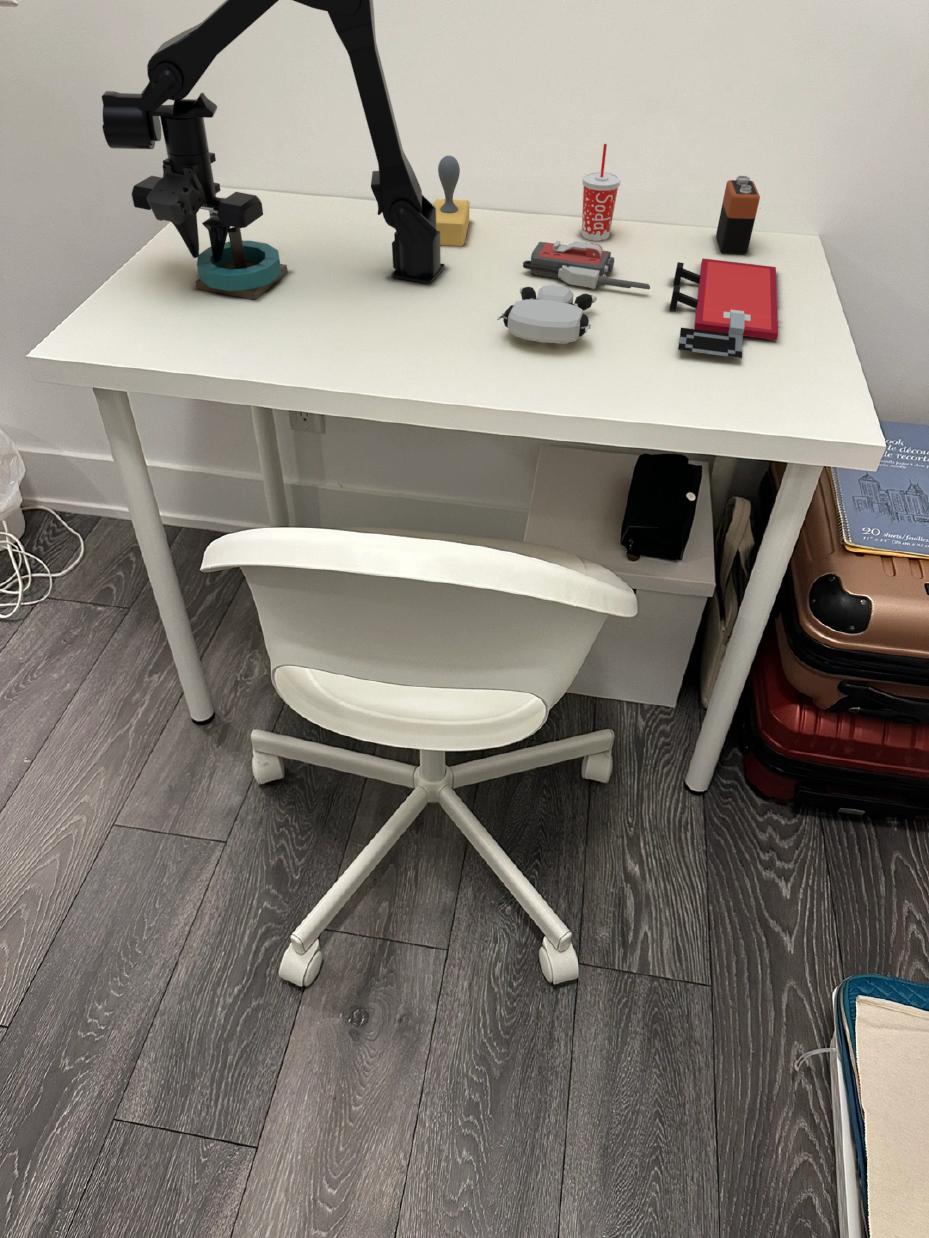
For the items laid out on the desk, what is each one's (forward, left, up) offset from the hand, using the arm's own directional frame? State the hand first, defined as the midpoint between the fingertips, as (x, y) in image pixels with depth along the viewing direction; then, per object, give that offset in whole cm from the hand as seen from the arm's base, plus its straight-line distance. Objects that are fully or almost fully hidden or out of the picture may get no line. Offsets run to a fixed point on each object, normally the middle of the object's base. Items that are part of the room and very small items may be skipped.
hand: (207, 259), depth 136 cm
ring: (-6, 0, -1) cm, 6 cm away
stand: (-6, 0, -2) cm, 6 cm away
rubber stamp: (-29, -28, -3) cm, 40 cm away
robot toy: (-54, -2, -3) cm, 54 cm away
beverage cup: (-52, -36, -3) cm, 63 cm away
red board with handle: (-76, -16, -3) cm, 78 cm away
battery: (-74, -40, -3) cm, 84 cm away
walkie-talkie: (-55, -20, -3) cm, 58 cm away
